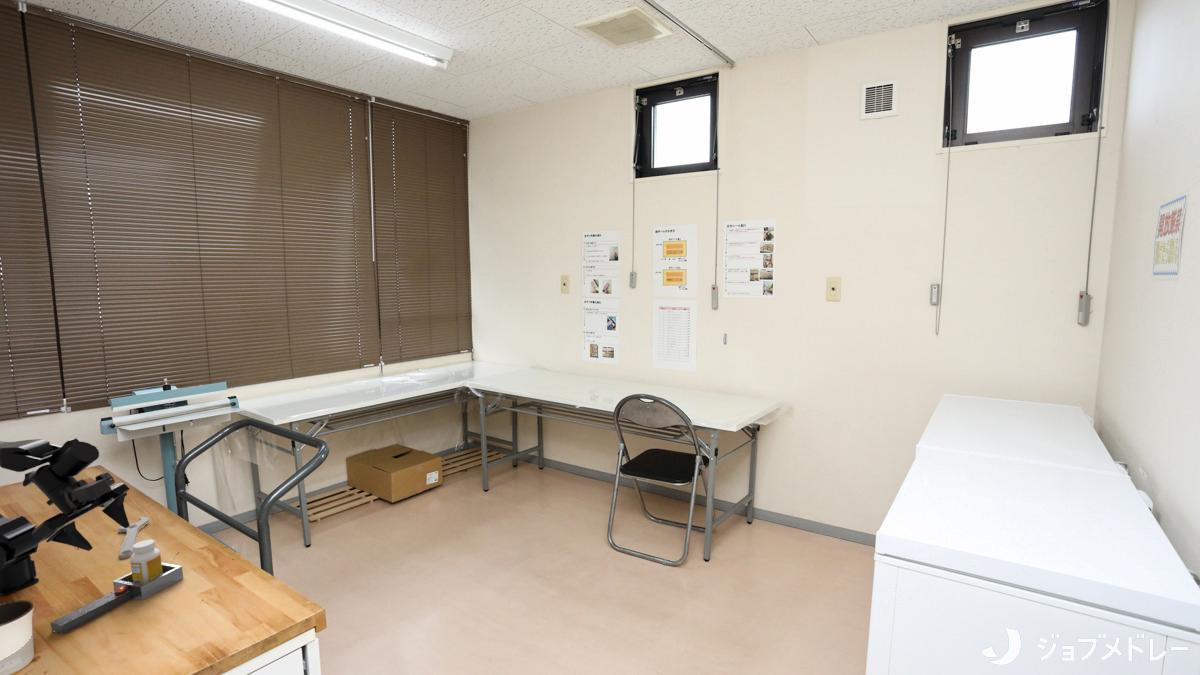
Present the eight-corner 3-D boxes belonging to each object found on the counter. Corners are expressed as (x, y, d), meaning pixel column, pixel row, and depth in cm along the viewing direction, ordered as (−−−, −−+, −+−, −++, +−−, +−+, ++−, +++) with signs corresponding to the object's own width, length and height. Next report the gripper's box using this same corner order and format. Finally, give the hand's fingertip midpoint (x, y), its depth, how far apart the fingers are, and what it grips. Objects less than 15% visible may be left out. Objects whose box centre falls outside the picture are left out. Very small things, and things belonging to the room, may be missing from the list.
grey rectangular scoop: (72, 637, 112) (70, 623, 112) (43, 629, 115) (40, 615, 115) (183, 578, 133) (181, 566, 133) (156, 572, 136) (154, 561, 135)
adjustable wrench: (133, 558, 144) (132, 552, 144) (100, 565, 141) (99, 559, 141) (151, 520, 166) (150, 515, 165) (123, 526, 162) (122, 520, 162)
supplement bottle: (165, 574, 134) (160, 535, 132) (161, 585, 129) (156, 545, 128) (136, 581, 131) (131, 541, 130) (131, 592, 126) (126, 551, 125)
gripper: (39, 488, 118) (92, 543, 120) (120, 451, 136) (165, 499, 138) (8, 515, 120) (61, 569, 122) (92, 475, 138) (137, 523, 140)
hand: (110, 538), depth 131 cm, fingers open, 9 cm apart
